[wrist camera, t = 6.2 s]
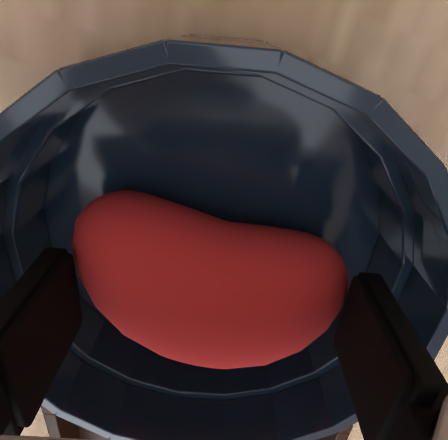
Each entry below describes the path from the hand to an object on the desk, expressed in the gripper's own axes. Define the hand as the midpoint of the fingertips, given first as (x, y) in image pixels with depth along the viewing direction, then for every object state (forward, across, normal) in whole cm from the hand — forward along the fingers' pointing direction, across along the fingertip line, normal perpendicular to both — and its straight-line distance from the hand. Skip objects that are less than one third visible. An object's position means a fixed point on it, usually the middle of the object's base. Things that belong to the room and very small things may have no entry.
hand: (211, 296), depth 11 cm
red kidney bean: (+3, 0, 0) cm, 3 cm away
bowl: (+3, 0, 0) cm, 3 cm away
